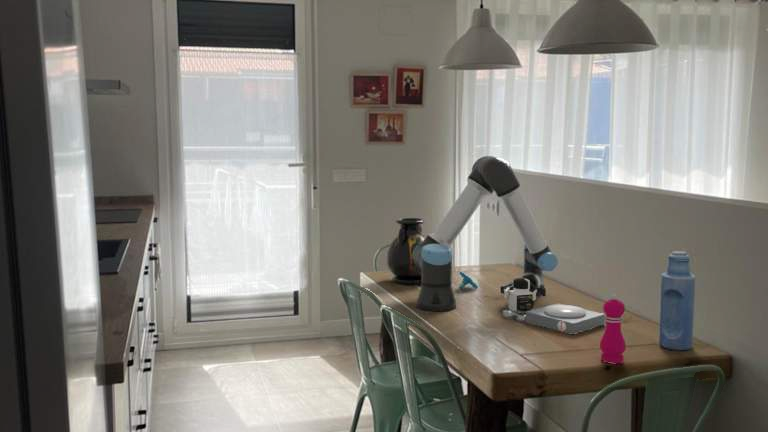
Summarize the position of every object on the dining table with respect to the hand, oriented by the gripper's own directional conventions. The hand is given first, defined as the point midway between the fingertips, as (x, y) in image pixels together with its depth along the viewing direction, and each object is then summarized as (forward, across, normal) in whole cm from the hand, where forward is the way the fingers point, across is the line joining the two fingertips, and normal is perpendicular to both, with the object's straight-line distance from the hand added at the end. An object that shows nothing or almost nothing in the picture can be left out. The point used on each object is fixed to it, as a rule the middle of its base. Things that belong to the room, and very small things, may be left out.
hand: (519, 295), depth 261 cm
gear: (-33, +28, -7) cm, 44 cm away
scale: (+9, -18, -6) cm, 21 cm away
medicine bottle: (-4, 0, -7) cm, 8 cm away
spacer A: (+6, +2, -7) cm, 9 cm away
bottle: (+24, -53, -7) cm, 58 cm away
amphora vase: (-39, +55, -7) cm, 68 cm away
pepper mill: (+45, -35, -7) cm, 57 cm away
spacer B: (+9, -3, -7) cm, 12 cm away
